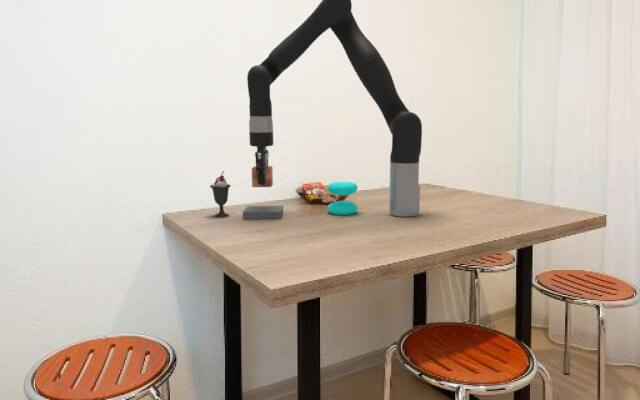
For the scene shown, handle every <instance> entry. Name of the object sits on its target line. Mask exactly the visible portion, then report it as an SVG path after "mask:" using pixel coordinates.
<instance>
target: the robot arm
mask: <svg viewBox="0 0 640 400" xmlns="http://www.w3.org/2000/svg"><path fill="white" fill-rule="evenodd" d="M352 9H353V8H352V0H321V2H320V3H319V4H318V6H317V7H316V8H315V9H314V10H313V12H312V13H310V15H309V16H308V17H307V18H306V19H305V20H304V21H303V22H302V23H301V24H300V25H299V26H298V27H297V28H295V30H293V31H292V32H291V33H290V34H288V36H286V37H285V38H284V39H283V40H282V41H280V43H279V44H278V45H277V46H276V47H274V48H273V49H272V50H271V52H269V54H268V56H267V57H266V58H265V59H264V60H263V61H261V63H260V64H257V65H254V66H251V68H250V69H249V70H248V72H247V80H246V82H247V91H248V97H249V105H248V106H249V122H248V124H249V125H248V129H249V133H248V135H249V146H251V147H256V150H257V151H255V152H254V157H255V166H256V172H257V173H258V184H259V185H264V184H265V166H269V156H270V155H269V151H268V149H267V147H272V146H274V124H273V123H274V122H273V111H272V110H273V105H272V100H271V85H272V84H273V83H274V82H275V81H276V80H277V79H278V77H280V75H281V74H282V73H283V72H284V71H286V70H287V69H288V68H290V66H291V65H293V64H294V63H295V62H296V61H297V60H298V59H299V58H300V57H301V56H303V54H304V53H305V52H306V51H307V50H308V49H309V48H310V46H311V45H313V43H314V42H315V41H316V40H317V39H318V38H319V37H320V36H321V35H323V34H324V33H325V32H326V31H328V30H329V29H330V30H331V31H332V32H333V34H334V35H335V37H336V38H337V39H338V41H339V42H340V44H341V46H342V48H343V50H344V52H345V55H346V57H347V58H348V60H349V62H350V65H351V66H352V68H353V70H354V72H355V73H356V74H355V75H356V76H357V77H358V79H359V81H360V82H361V83H362V85H363V86H364V88H365V89H366V90H365V91H367V93H368V94H369V95H370V97H371V98H372V99H373V101H374V102H375V103H376V105H377V107H378V108H379V110H380V112H381V114H382V116H383V118H384V120H385V123H386V125H387V127H388V129H389V131H390V134H391V138H392V141H391V151H390V155H389V157H390V158H389V164H390V165H389V206H388V207H389V208H388V209H389V211H388V213H389V215H390V216H395V217H405V218H406V217H407V218H409V217H416V216H420V204H421V203H420V202H421V201H420V200H421V198H420V197H421V195H420V194H421V186H420V185H419V180H420V179H419V178H420V177H419V176H420V175H419V174H420V157H421V154H422V153H421V152H422V140H423V139H422V136H423V131H422V130H423V124H422V120H421V118H420V117H419V115H417V114H416V113H414V112H411V111H410V110H409V109H408V108H407V106H406V105H405V104H404V102H403V100H402V99H401V98H400V96H399V93H398V91H397V89H396V85H395V83H394V80H393V76H392V74H391V71H390V69H389V68H388V66H387V64H386V62H385V60H384V59H383V56H382V55H381V54H380V52H379V51H378V49H377V48H376V46H375V45H374V44H373V43H372V42H371V41H370V40H369V38H367V37H366V35H365V33H363V31H362V30H361V29H360V27H359V24H358V23H357V21H356V19H355V17H354V15H353V11H352ZM259 166H262V168H259Z"/></svg>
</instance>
